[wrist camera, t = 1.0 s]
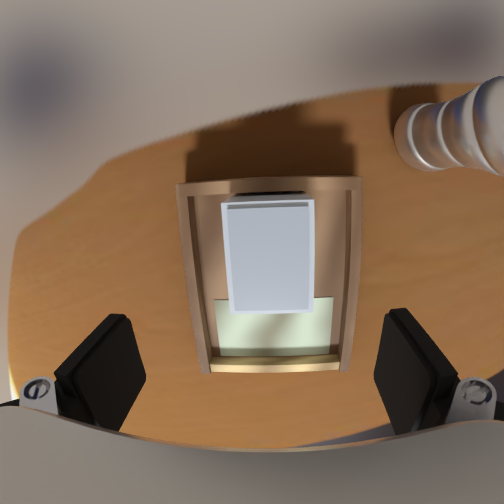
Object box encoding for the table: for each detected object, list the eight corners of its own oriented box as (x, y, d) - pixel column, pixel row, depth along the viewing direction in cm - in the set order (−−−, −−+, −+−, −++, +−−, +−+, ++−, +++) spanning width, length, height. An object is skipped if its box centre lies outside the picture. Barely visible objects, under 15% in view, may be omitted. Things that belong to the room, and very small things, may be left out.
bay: (353, 175, 26) (369, 177, 21) (343, 355, 31) (351, 382, 27) (185, 182, 27) (167, 185, 22) (206, 357, 33) (197, 385, 28)
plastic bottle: (374, 133, 24) (530, 96, 5) (414, 95, 23) (561, 41, 4) (413, 184, 25) (576, 226, 6) (451, 145, 24) (605, 149, 5)
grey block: (303, 190, 25) (314, 200, 18) (304, 275, 28) (313, 313, 20) (235, 193, 26) (220, 203, 19) (241, 277, 28) (229, 315, 21)
